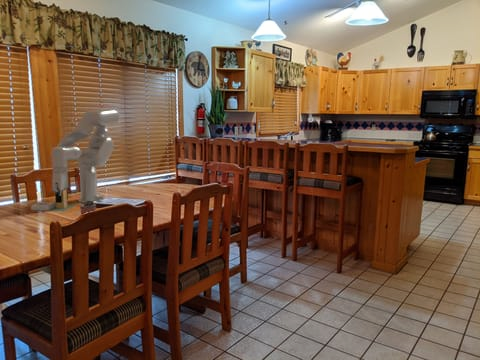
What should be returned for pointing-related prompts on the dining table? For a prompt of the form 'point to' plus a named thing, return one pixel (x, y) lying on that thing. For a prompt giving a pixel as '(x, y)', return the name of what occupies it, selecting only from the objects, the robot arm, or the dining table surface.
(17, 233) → the dining table surface
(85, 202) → the lighter
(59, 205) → the plug
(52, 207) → the board
